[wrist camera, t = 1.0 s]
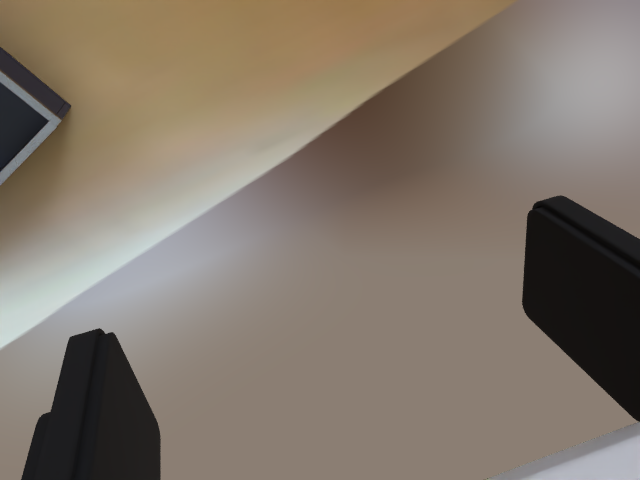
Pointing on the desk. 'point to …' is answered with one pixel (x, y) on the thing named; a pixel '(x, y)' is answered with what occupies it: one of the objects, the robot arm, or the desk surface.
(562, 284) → the robot arm
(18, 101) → the square open-top storage box
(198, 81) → the desk surface
